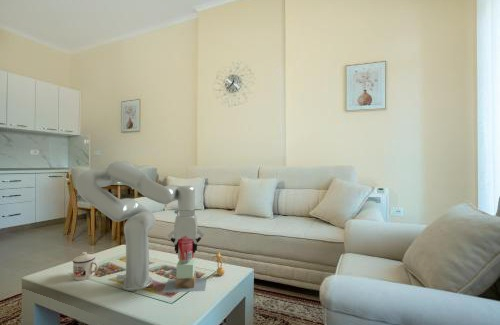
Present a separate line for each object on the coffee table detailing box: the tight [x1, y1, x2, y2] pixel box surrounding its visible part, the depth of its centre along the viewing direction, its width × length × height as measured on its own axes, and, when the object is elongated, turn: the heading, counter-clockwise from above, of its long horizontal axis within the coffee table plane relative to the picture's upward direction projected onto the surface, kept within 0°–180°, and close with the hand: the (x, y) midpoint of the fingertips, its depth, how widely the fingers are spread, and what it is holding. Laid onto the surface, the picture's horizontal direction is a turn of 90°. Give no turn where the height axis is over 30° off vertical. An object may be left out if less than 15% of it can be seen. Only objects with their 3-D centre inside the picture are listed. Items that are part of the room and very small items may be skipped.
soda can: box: [177, 236, 195, 261], centre depth 115 cm, size 7×7×12 cm
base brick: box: [174, 270, 197, 288], centre depth 115 cm, size 8×8×4 cm
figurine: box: [211, 252, 228, 277], centre depth 123 cm, size 8×6×12 cm
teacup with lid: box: [72, 251, 100, 281], centre depth 122 cm, size 12×9×12 cm
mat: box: [161, 277, 208, 294], centre depth 114 cm, size 18×12×1 cm, turn 95°
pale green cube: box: [176, 258, 196, 279], centre depth 115 cm, size 7×7×6 cm
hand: (185, 251), depth 115 cm, fingers closed on soda can, 7 cm apart
